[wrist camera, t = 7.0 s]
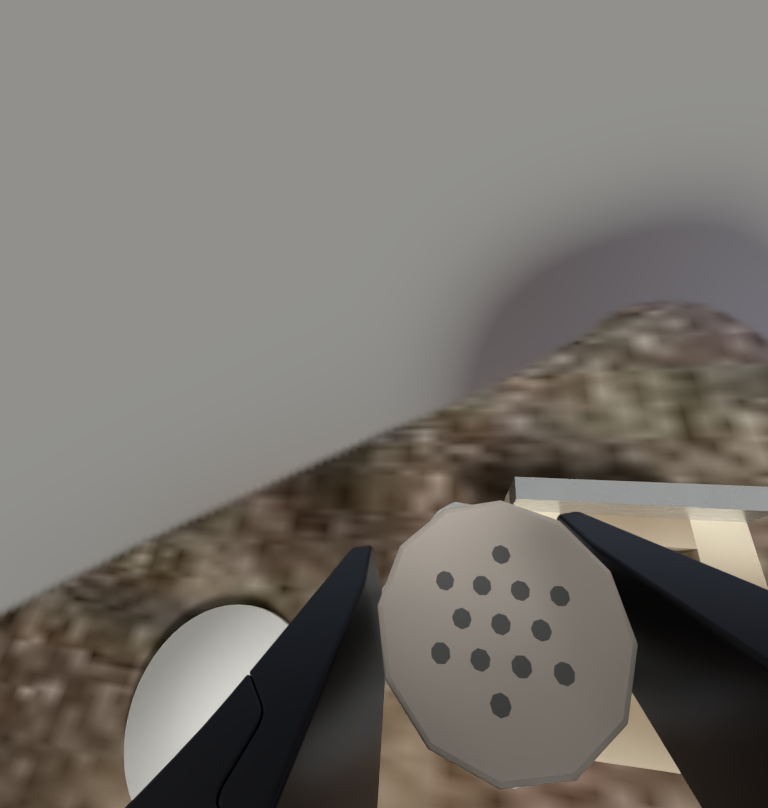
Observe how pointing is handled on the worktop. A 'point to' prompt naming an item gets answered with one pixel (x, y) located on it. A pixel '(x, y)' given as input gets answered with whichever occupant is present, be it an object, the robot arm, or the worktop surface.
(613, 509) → the square wooden frame
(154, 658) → the coaster
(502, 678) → the pepper shaker
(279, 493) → the worktop surface
